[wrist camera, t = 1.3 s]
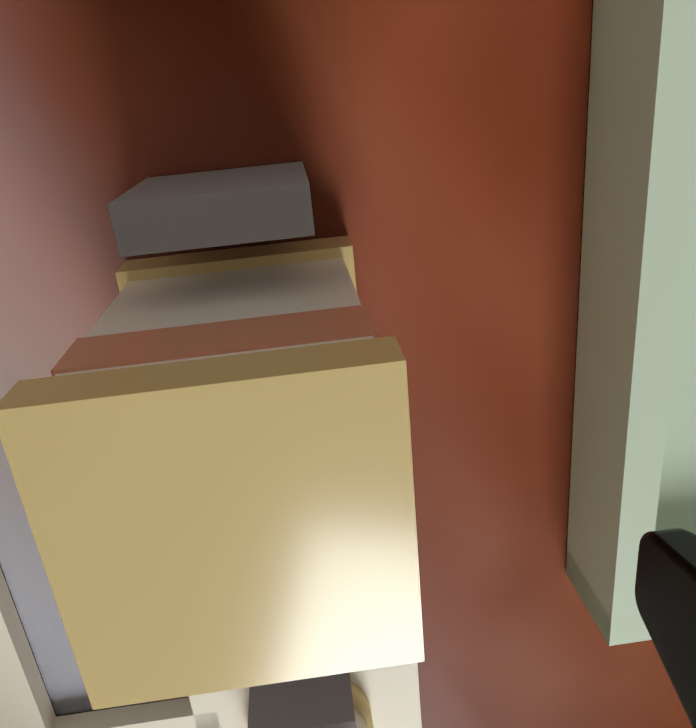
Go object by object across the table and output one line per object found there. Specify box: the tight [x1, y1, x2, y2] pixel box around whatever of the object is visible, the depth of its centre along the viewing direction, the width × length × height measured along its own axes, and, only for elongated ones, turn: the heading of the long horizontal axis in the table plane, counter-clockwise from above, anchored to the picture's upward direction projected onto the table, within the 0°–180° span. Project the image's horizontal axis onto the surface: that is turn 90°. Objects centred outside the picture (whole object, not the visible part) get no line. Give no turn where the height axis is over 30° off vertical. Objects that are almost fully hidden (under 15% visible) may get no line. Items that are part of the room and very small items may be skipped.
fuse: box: [0, 235, 424, 710], centre depth 11 cm, size 4×4×7 cm
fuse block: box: [0, 161, 422, 728], centre depth 11 cm, size 11×27×6 cm, turn 5°
